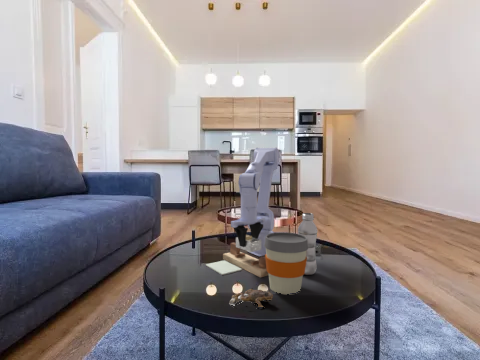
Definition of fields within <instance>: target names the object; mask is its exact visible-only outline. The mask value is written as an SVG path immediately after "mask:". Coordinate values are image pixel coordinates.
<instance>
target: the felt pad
mask: <svg viewBox="0 0 480 360" xmlns="http://www.w3.org/2000/svg"><path fill="white" fill-rule="evenodd" d="M205 266H206V268H207V267H208V268H209V269H210V270H213V271H214V272H216V273H218V274H220V275H221V276H225V275H228V274H233V273H236V272H237V273H238V272H240V271H243V269H242V268H240V267H238V266H236V265H234V264H232V263H230V262H228V261H226V260H224V259H222V260H220V261H219V260H218V261H216V262H210V263H205Z"/></svg>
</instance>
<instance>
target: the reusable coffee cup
mask: <svg viewBox="0 0 480 360" xmlns="http://www.w3.org/2000/svg"><path fill="white" fill-rule="evenodd" d="M264 246H265V248H266V255H264V257H265V259H266V268H267V272H268V273H269V275H268V282H269V290H270V291H272V292H274V293H276V292H277V294H279V293H281V295H287V294H289V295H291V294H290V293H296V292H298V291H300V292H301V290H302V284H303V276H304V275H305V268H306V261H307V257H306V251H307V249H308V241H307V237H305V236H303V235H300V234H298V233H294V232H283V231H282V232H274V233H271V234H268V235H266V237H265V245H264ZM300 289H301V290H300ZM298 293H299V292H298ZM296 294H297V293H296Z"/></svg>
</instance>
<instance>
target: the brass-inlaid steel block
mask: <svg viewBox="0 0 480 360" xmlns="http://www.w3.org/2000/svg"><path fill="white" fill-rule="evenodd" d="M235 243H236V247H237V248H240V250H244V251H246V252H247V251H248V252H247V253H249V252H254V251H258V250H261V240H260V239H257V238H253V237H252V236H251V234H250V235H249V234H246V243H245V247H242V246H240V244H239V240H238V237H237V236H236V237H235Z"/></svg>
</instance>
